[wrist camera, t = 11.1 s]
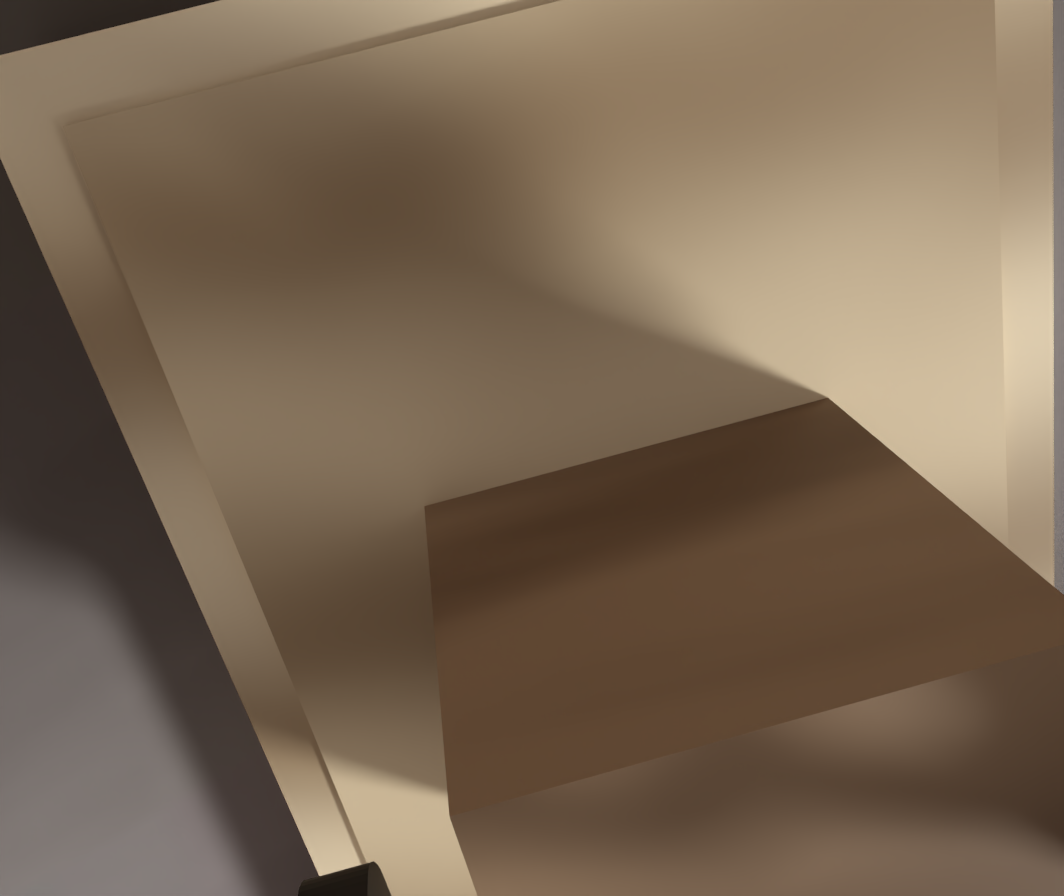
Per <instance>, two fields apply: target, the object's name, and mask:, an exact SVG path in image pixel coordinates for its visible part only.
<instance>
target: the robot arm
mask: <svg viewBox="0 0 1064 896" xmlns="http://www.w3.org/2000/svg"><path fill="white" fill-rule="evenodd" d="M298 896H391V893H390V891H389V888H388V886H387V883H386V881H385V878H384V876H383V874H382V871H381V869H380V868H379V866H378V864H377V863H376V862H374V861H373V862H369V863H366V864H362V865H358V866H355V867H351V868H348V869H344V870H340V871H337V872H333V873H329V874H326V875H322V876H319V877H315V878H311V879H308V880H304V881H303V882H302V884H301V886H300V889H299V893H298Z"/></svg>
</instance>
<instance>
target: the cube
mask: <svg viewBox="0 0 1064 896" xmlns="http://www.w3.org/2000/svg"><path fill="white" fill-rule="evenodd" d="M424 508H425V521H426V533H427V546H428V558H429V570H430V583H431V595H432V607H433V620H434V632H435V645H436V657H437V669H438V682H439V694H440V707H441V719H442V731H443V744H444V756H445V768H446V781H447V793H448V806H449V817H450V820H451V822H452V825H453V828H454V831H455V834H456V837H457V839H458V842H459V845H460V848H461V851H462V854H463V856H464V859H465V862H466V865H467V868H468V871H469V873H470V876H471V879H472V882H473V885H474V887H475V890H476V893H477V896H1064V595H1063V594H1062V593H1061V592H1060V591H1058V590H1057V589H1056V588H1055V587H1054V586H1052V585H1051V584H1050V583H1049V582H1048V581H1046V580H1045V579H1044V578H1043V577H1042V576H1040V575H1039V574H1038V573H1037V572H1036V571H1035V570H1033V569H1032V568H1031V567H1030V566H1029V565H1027V564H1026V563H1025V562H1024V561H1023V560H1021V559H1020V558H1019V557H1018V556H1017V555H1015V554H1014V553H1013V552H1012V551H1011V550H1009V549H1008V548H1007V547H1006V546H1005V545H1003V544H1002V543H1001V542H1000V541H999V540H997V539H996V538H995V537H994V536H993V535H992V534H990V533H989V532H988V531H987V530H986V529H984V528H983V527H982V526H981V525H980V524H978V523H977V522H976V521H975V520H974V519H972V518H971V517H970V516H969V515H968V514H966V513H965V512H964V511H963V510H962V509H960V508H959V507H958V506H957V505H956V504H955V503H953V502H952V501H951V500H950V499H949V498H947V497H946V496H945V495H944V494H943V493H941V492H940V491H939V490H938V489H937V488H935V487H934V486H933V485H932V484H931V483H929V482H928V481H927V480H926V479H925V478H923V477H922V476H921V475H920V474H919V473H918V472H916V471H915V470H914V469H913V468H912V467H910V466H909V465H908V464H907V463H906V462H904V461H903V460H902V459H901V458H900V457H898V456H897V455H896V454H895V453H894V452H892V451H891V450H890V449H889V448H888V447H886V446H885V445H884V444H883V443H882V442H881V441H879V440H878V439H877V438H876V437H875V436H873V435H872V434H871V433H870V432H869V431H867V430H866V429H865V428H864V427H863V426H861V425H860V424H859V423H858V422H857V421H855V420H854V419H853V418H852V417H851V416H849V415H848V414H847V413H846V412H845V411H844V410H842V409H841V408H840V407H839V406H838V405H836V404H835V403H834V402H833V401H832V400H830V399H829V398H825V399H821V400H817V401H814V402H810V403H806V404H802V405H799V406H795V407H791V408H788V409H784V410H780V411H776V412H773V413H769V414H765V415H762V416H758V417H754V418H750V419H747V420H743V421H739V422H735V423H732V424H728V425H724V426H721V427H717V428H713V429H709V430H706V431H702V432H698V433H695V434H691V435H687V436H683V437H680V438H676V439H672V440H669V441H665V442H661V443H657V444H654V445H650V446H646V447H643V448H639V449H635V450H631V451H628V452H624V453H620V454H617V455H613V456H609V457H605V458H602V459H598V460H594V461H591V462H587V463H583V464H579V465H576V466H572V467H568V468H565V469H561V470H557V471H553V472H550V473H546V474H542V475H539V476H535V477H531V478H527V479H524V480H520V481H516V482H513V483H509V484H505V485H501V486H498V487H494V488H490V489H487V490H483V491H479V492H475V493H472V494H468V495H464V496H461V497H457V498H453V499H449V500H446V501H442V502H438V503H435V504H431V505H427V506H424Z"/></svg>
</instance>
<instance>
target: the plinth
mask: <svg viewBox="0 0 1064 896" xmlns="http://www.w3.org/2000/svg"><path fill="white" fill-rule="evenodd" d="M0 159H1V161H2V163H3V166H4V168H5V170H6V172H7V175H8V177H9V179H10V181H11V184H12V186H13V188H14V190H15V193H16V195H17V197H18V199H19V202H20V204H21V206H22V208H23V211H24V213H25V215H26V217H27V220H28V222H29V224H30V226H31V229H32V231H33V233H34V235H35V238H36V240H37V242H38V244H39V247H40V249H41V251H42V253H43V256H44V258H45V260H46V262H47V265H48V267H49V269H50V271H51V274H52V276H53V278H54V280H55V283H56V285H57V287H58V289H59V292H60V294H61V296H62V298H63V301H64V303H65V305H66V307H67V310H68V312H69V314H70V316H71V319H72V321H73V323H74V325H75V328H76V330H77V332H78V334H79V337H80V339H81V341H82V343H83V346H84V348H85V350H86V352H87V355H88V357H89V359H90V361H91V364H92V366H93V368H94V370H95V373H96V375H97V377H98V379H99V382H100V384H101V386H102V388H103V391H104V393H105V395H106V397H107V400H108V402H109V404H110V406H111V409H112V411H113V413H114V415H115V418H116V420H117V422H118V424H119V427H120V429H121V431H122V433H123V436H124V438H125V440H126V442H127V445H128V447H129V449H130V451H131V454H132V456H133V458H134V460H135V463H136V465H137V467H138V469H139V472H140V474H141V476H142V478H143V481H144V483H145V485H146V487H147V490H148V492H149V494H150V496H151V499H152V501H153V503H154V505H155V508H156V510H157V512H158V514H159V517H160V519H161V521H162V523H163V526H164V528H165V530H166V532H167V535H168V537H169V539H170V541H171V544H172V546H173V548H174V550H175V553H176V555H177V557H178V559H179V562H180V564H181V566H182V568H183V571H184V573H185V575H186V577H187V580H188V582H189V584H190V586H191V589H192V591H193V593H194V595H195V598H196V600H197V602H198V604H199V607H200V609H201V611H202V613H203V616H204V618H205V620H206V622H207V625H208V627H209V629H210V631H211V634H212V636H213V638H214V640H215V643H216V645H217V647H218V649H219V652H220V654H221V656H222V658H223V661H224V663H225V665H226V667H227V670H228V672H229V674H230V676H231V679H232V681H233V683H234V685H235V688H236V690H237V692H238V694H239V696H240V699H241V701H242V703H243V705H244V708H245V710H246V712H247V714H248V717H249V719H250V721H251V723H252V726H253V728H254V730H255V732H256V735H257V737H258V739H259V741H260V744H261V746H262V748H263V750H264V753H265V755H266V757H267V759H268V762H269V764H270V766H271V768H272V771H273V773H274V775H275V777H276V780H277V782H278V784H279V786H280V789H281V791H282V793H283V795H284V798H285V800H286V802H287V804H288V807H289V809H290V811H291V813H292V816H293V818H294V820H295V822H296V825H297V827H298V829H299V831H300V834H301V836H302V838H303V840H304V843H305V845H306V847H307V849H308V852H309V854H310V856H311V858H312V861H313V863H314V865H315V867H316V870H317V872H318V874H319V876H322V875H326V874H329V873H333V872H337V871H340V870H344V869H348V868H351V867H355V866H358V865H362V864H366V863H369V862H373V861H374V862H376V863H377V864H378V866H379V868H380V869H381V871H382V874H383V876H384V878H385V881H386V883H387V886H388V888H389V891H390V893H391V896H477V893H476V890H475V887H474V885H473V882H472V879H471V876H470V873H469V871H468V868H467V865H466V862H465V859H464V856H463V854H462V851H461V848H460V845H459V842H458V839H457V837H456V834H455V831H454V828H453V825H452V822H451V820H450V817H449V806H448V793H447V781H446V768H445V756H444V744H443V731H442V719H441V707H440V694H439V682H438V669H437V657H436V645H435V632H434V620H433V607H432V595H431V583H430V570H429V558H428V546H427V533H426V521H425V508H424V506H427V505H431V504H435V503H438V502H442V501H446V500H449V499H453V498H457V497H461V496H464V495H468V494H472V493H475V492H479V491H483V490H487V489H490V488H494V487H498V486H501V485H505V484H509V483H513V482H516V481H520V480H524V479H527V478H531V477H535V476H539V475H542V474H546V473H550V472H553V471H557V470H561V469H565V468H568V467H572V466H576V465H579V464H583V463H587V462H591V461H594V460H598V459H602V458H605V457H609V456H613V455H617V454H620V453H624V452H628V451H631V450H635V449H639V448H643V447H646V446H650V445H654V444H657V443H661V442H665V441H669V440H672V439H676V438H680V437H683V436H687V435H691V434H695V433H698V432H702V431H706V430H709V429H713V428H717V427H721V426H724V425H728V424H732V423H735V422H739V421H743V420H747V419H750V418H754V417H758V416H762V415H765V414H769V413H773V412H776V411H780V410H784V409H788V408H791V407H795V406H799V405H802V404H806V403H810V402H814V401H817V400H821V399H825V398H829V399H830V400H832V401H833V402H834V403H835V404H836V405H838V406H839V407H840V408H841V409H842V410H844V411H845V412H846V413H847V414H848V415H849V416H851V417H852V418H853V419H854V420H855V421H857V422H858V423H859V424H860V425H861V426H863V427H864V428H865V429H866V430H867V431H869V432H870V433H871V434H872V435H873V436H875V437H876V438H877V439H878V440H879V441H881V442H882V443H883V444H884V445H885V446H886V447H888V448H889V449H890V450H891V451H892V452H894V453H895V454H896V455H897V456H898V457H900V458H901V459H902V460H903V461H904V462H906V463H907V464H908V465H909V466H910V467H912V468H913V469H914V470H915V471H916V472H918V473H919V474H920V475H921V476H922V477H923V478H925V479H926V480H927V481H928V482H929V483H931V484H932V485H933V486H934V487H935V488H937V489H938V490H939V491H940V492H941V493H943V494H944V495H945V496H946V497H947V498H949V499H950V500H951V501H952V502H953V503H955V504H956V505H957V506H958V507H959V508H960V509H962V510H963V511H964V512H965V513H966V514H968V515H969V516H970V517H971V518H972V519H974V520H975V521H976V522H977V523H978V524H980V525H981V526H982V527H983V528H984V529H986V530H987V531H988V532H989V533H990V534H992V535H993V536H994V537H995V538H996V539H997V540H999V541H1000V542H1001V543H1002V544H1003V545H1005V546H1006V547H1007V548H1008V549H1009V550H1011V551H1012V552H1013V553H1014V554H1015V555H1017V556H1018V557H1019V558H1020V559H1021V560H1023V561H1024V562H1025V563H1026V564H1027V565H1029V566H1030V567H1031V568H1032V569H1033V570H1035V571H1036V572H1037V573H1038V574H1039V575H1040V576H1042V577H1043V578H1044V579H1045V580H1046V581H1048V582H1049V583H1050V584H1051V585H1052V586H1054V292H1053V0H220V1H216V2H212V3H208V4H204V5H200V6H196V7H192V8H188V9H184V10H180V11H176V12H172V13H168V14H164V15H160V16H156V17H152V18H148V19H144V20H140V21H136V22H132V23H128V24H124V25H119V26H115V27H111V28H107V29H103V30H99V31H95V32H91V33H87V34H83V35H79V36H75V37H71V38H67V39H63V40H59V41H55V42H51V43H47V44H43V45H39V46H35V47H31V48H27V49H23V50H19V51H15V52H11V53H7V54H3V55H0Z"/></svg>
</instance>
